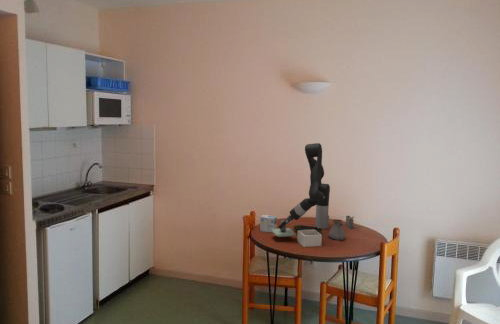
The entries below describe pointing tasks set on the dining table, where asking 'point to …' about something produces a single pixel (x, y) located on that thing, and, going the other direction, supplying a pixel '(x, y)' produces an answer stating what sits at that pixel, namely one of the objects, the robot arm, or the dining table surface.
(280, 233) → the lid
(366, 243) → the dining table surface
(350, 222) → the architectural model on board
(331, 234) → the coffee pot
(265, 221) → the light bulb box
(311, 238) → the tub
